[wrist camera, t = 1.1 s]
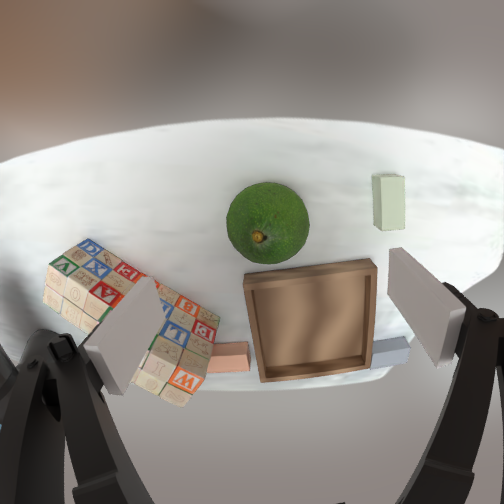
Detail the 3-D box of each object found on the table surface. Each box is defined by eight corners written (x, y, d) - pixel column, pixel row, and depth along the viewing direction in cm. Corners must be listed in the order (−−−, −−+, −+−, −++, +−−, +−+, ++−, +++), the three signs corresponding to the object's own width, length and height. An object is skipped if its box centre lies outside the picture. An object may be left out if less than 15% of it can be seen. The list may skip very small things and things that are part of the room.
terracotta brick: (210, 359, 41) (207, 372, 39) (206, 343, 40) (202, 357, 38) (250, 357, 41) (249, 370, 38) (247, 341, 40) (246, 354, 37)
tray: (261, 368, 41) (260, 382, 38) (244, 273, 36) (242, 284, 33) (364, 355, 40) (370, 368, 37) (369, 258, 35) (377, 267, 32)
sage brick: (395, 222, 33) (404, 229, 30) (373, 224, 33) (381, 231, 31) (393, 173, 31) (404, 176, 28) (371, 174, 31) (380, 177, 29)
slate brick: (365, 356, 40) (370, 369, 37) (367, 341, 39) (372, 354, 36) (400, 350, 40) (406, 362, 37) (403, 335, 39) (410, 347, 36)
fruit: (278, 163, 32) (285, 172, 20) (315, 222, 34) (338, 260, 22) (220, 201, 33) (195, 230, 22) (258, 257, 35) (253, 308, 24)
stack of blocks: (77, 272, 38) (27, 313, 26) (88, 236, 36) (31, 272, 24) (201, 347, 41) (182, 410, 29) (222, 317, 39) (205, 381, 27)
